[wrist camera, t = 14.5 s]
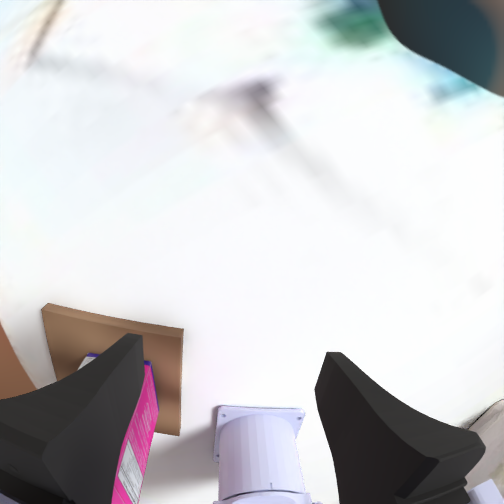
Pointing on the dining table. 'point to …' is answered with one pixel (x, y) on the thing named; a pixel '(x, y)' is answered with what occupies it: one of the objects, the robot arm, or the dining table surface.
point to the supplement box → (135, 440)
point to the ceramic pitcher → (490, 449)
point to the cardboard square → (105, 335)
